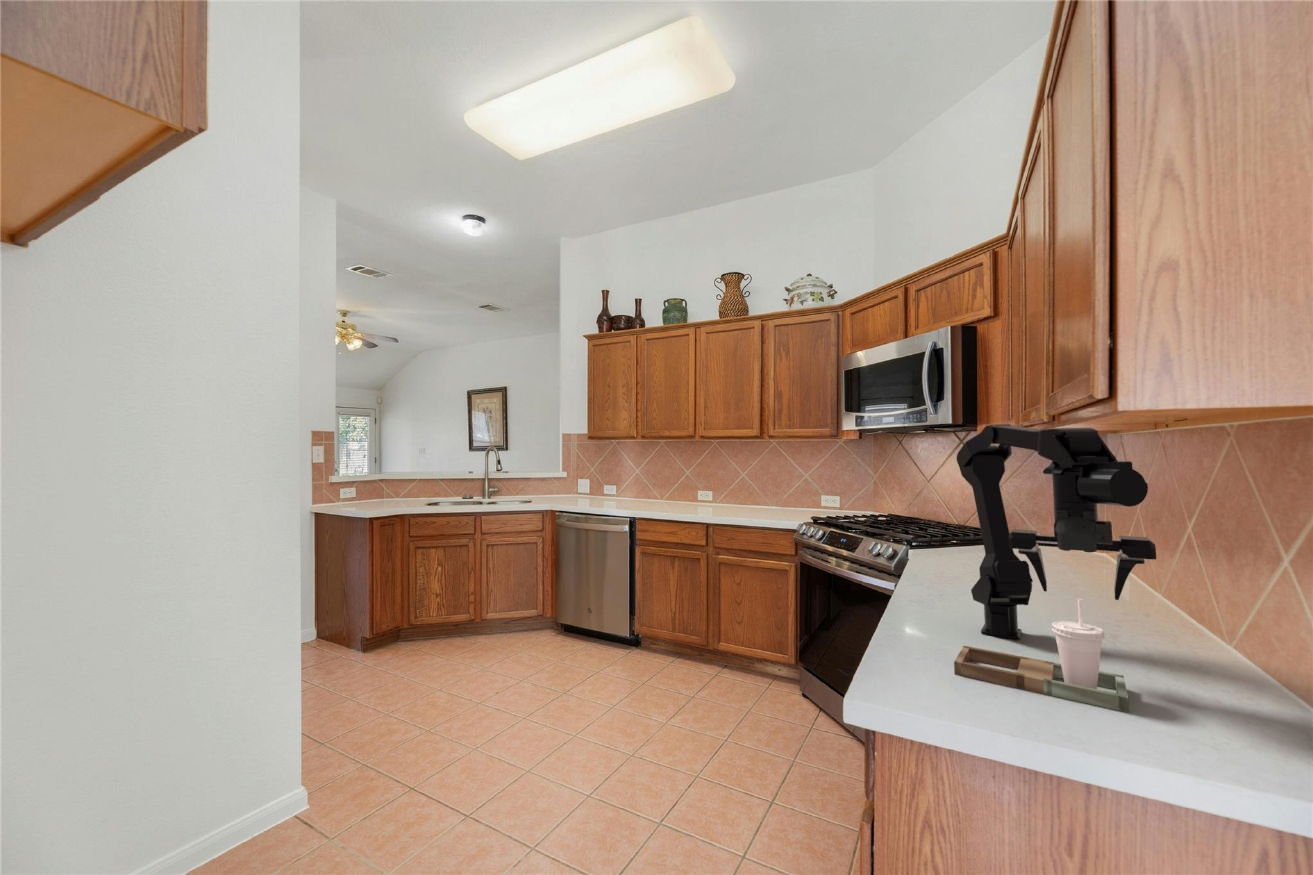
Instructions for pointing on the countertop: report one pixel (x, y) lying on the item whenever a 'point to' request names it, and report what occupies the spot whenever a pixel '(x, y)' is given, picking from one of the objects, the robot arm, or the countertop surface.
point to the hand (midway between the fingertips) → (1079, 595)
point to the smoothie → (1079, 650)
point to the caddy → (1040, 677)
